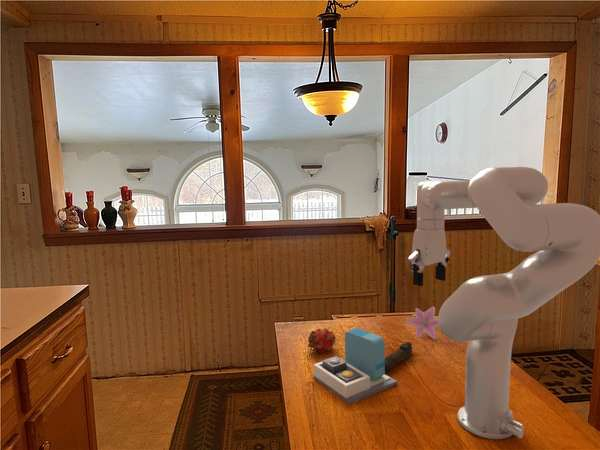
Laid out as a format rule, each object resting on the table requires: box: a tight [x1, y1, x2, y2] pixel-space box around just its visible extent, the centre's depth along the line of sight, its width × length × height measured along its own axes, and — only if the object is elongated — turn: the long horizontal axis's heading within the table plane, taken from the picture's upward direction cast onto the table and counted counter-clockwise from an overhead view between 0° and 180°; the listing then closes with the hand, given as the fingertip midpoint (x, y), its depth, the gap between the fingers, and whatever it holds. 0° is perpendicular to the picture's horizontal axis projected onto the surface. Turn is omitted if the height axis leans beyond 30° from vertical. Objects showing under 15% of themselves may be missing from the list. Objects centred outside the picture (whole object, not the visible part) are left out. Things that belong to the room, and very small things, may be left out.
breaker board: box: [312, 360, 398, 405], centre depth 119 cm, size 17×18×4 cm
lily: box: [405, 306, 440, 340], centre depth 152 cm, size 12×12×10 cm
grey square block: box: [322, 355, 347, 375], centre depth 119 cm, size 5×5×3 cm
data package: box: [344, 327, 386, 380], centre depth 121 cm, size 12×4×12 cm, turn 40°
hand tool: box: [385, 341, 413, 375], centre depth 129 cm, size 19×4×5 cm, turn 134°
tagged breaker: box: [335, 369, 360, 383], centre depth 114 cm, size 5×5×3 cm
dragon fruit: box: [307, 328, 337, 354], centre depth 140 cm, size 8×8×12 cm
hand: (429, 282), depth 119 cm, fingers open, 9 cm apart
